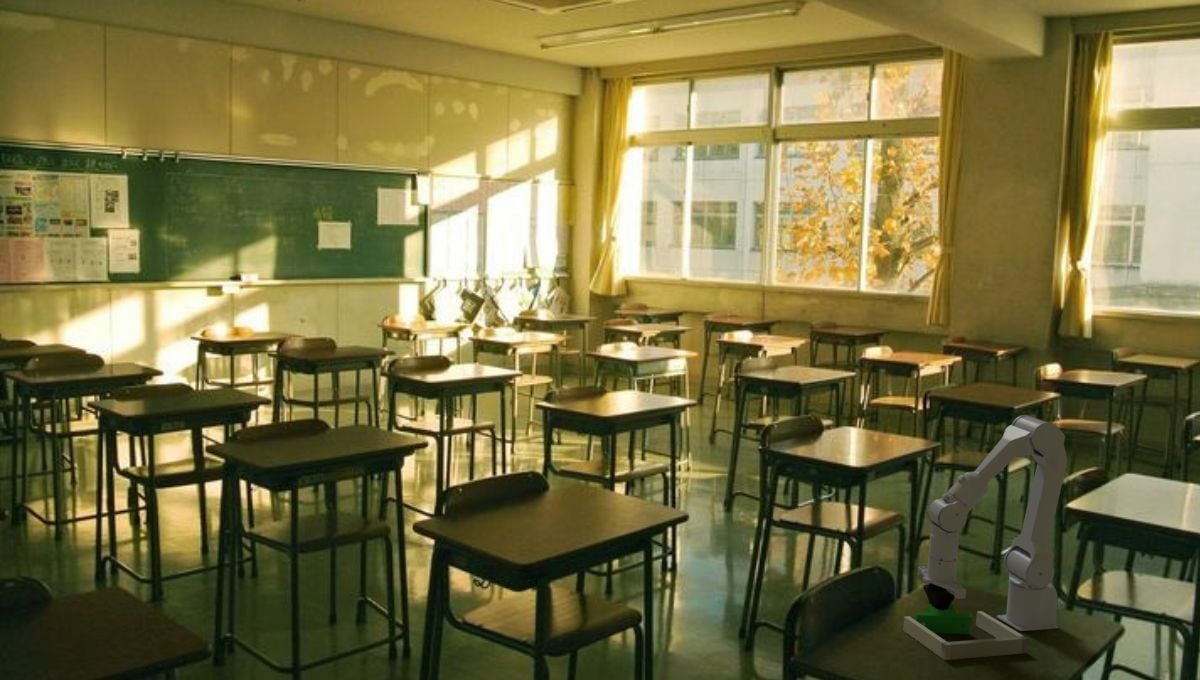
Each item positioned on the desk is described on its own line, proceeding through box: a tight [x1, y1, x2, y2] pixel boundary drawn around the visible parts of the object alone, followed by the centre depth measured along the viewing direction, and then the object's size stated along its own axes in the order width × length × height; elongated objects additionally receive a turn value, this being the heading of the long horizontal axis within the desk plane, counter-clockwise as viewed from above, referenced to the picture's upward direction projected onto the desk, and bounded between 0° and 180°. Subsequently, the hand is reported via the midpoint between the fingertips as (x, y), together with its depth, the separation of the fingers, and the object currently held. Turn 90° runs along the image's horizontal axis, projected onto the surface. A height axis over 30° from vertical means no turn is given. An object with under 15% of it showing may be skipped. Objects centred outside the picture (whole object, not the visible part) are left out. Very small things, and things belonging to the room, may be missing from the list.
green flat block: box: [914, 603, 973, 635], centre depth 210 cm, size 11×4×5 cm, turn 89°
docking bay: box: [902, 610, 1029, 661], centre depth 205 cm, size 18×15×3 cm
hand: (938, 620), depth 213 cm, fingers closed
